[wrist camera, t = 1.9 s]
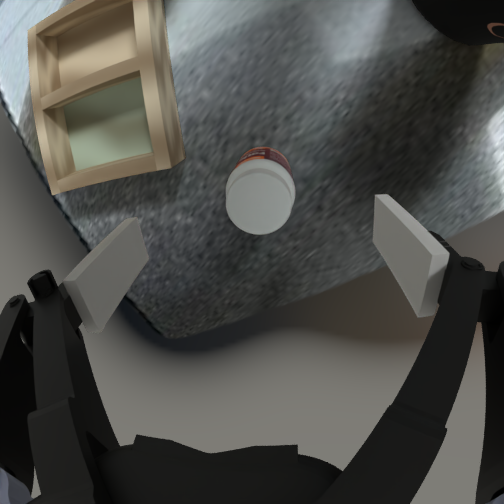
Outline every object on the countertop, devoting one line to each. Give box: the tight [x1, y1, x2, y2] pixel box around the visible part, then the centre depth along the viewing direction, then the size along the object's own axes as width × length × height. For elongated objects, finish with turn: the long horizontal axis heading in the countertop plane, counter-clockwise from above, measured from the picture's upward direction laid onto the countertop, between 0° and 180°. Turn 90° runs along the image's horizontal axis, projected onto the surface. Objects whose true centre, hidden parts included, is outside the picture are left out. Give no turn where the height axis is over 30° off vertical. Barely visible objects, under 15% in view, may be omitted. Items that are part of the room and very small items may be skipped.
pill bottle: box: [226, 147, 295, 235], centre depth 21 cm, size 5×5×8 cm
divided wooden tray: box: [28, 0, 186, 195], centre depth 19 cm, size 18×13×4 cm
